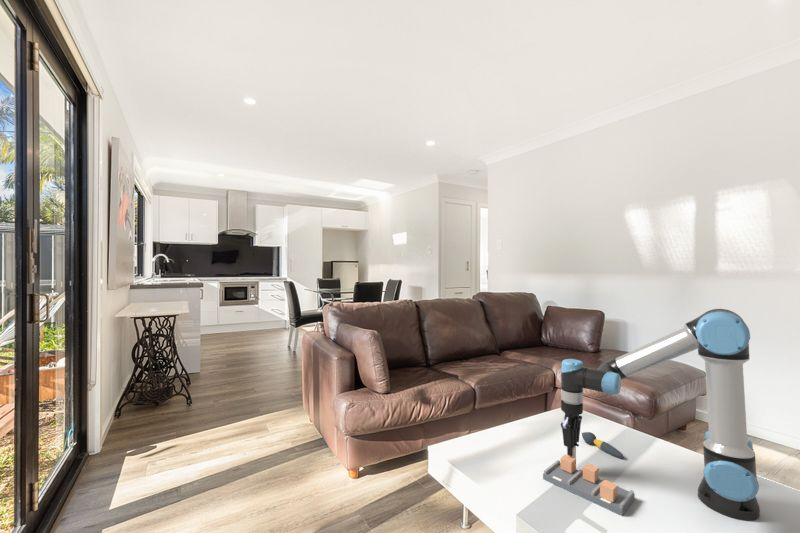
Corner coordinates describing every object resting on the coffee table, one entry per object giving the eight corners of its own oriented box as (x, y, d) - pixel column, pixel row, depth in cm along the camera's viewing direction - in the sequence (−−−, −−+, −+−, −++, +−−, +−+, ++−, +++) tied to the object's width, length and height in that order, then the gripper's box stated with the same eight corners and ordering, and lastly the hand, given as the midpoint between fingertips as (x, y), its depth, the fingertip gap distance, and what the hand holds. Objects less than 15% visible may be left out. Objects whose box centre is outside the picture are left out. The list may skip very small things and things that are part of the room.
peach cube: (598, 478, 131) (599, 467, 131) (594, 483, 128) (594, 471, 128) (587, 473, 134) (587, 463, 134) (582, 478, 131) (582, 467, 131)
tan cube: (576, 469, 137) (576, 458, 137) (571, 473, 134) (571, 462, 134) (565, 464, 140) (565, 454, 140) (560, 468, 137) (560, 458, 137)
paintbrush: (628, 458, 149) (628, 445, 149) (622, 461, 147) (622, 449, 147) (583, 438, 166) (583, 427, 166) (576, 441, 164) (576, 429, 164)
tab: (617, 496, 121) (617, 484, 120) (613, 502, 118) (613, 489, 118) (604, 491, 124) (604, 479, 123) (599, 496, 121) (599, 484, 121)
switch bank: (634, 499, 123) (634, 490, 123) (622, 516, 115) (622, 506, 115) (558, 467, 142) (558, 459, 142) (543, 479, 134) (543, 471, 134)
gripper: (569, 394, 146) (569, 453, 146) (553, 402, 137) (553, 465, 137) (589, 399, 140) (588, 460, 140) (574, 408, 131) (573, 473, 132)
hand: (571, 462), depth 139 cm, fingers closed
